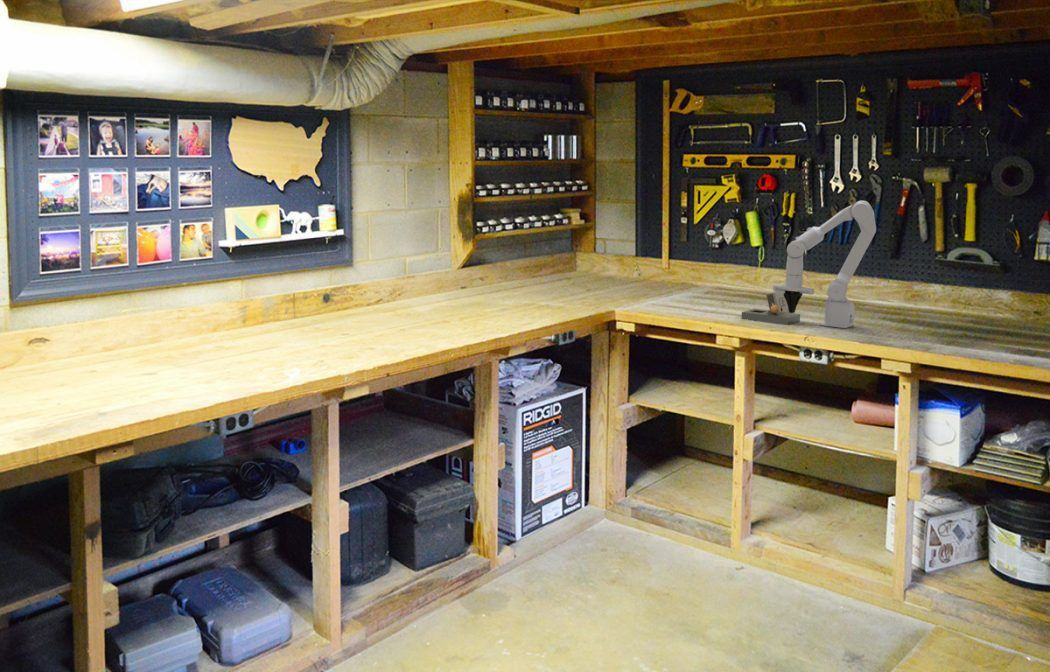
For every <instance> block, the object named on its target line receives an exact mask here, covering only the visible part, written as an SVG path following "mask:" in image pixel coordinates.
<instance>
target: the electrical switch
mask: <svg viewBox="0 0 1050 672" xmlns="http://www.w3.org/2000/svg"><path fill="white" fill-rule="evenodd" d="M784 293H785V292H784V291H773V290H772V292H771V293H768V294H766V299H767V303H768V307H769V311H771V310H770V309H771V306H773V305H778V306H779V308H780V310H779V312H786V313H789V310H788V305H787V302H786V299H785V297H784Z"/></svg>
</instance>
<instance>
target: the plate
mask: <svg viewBox="0 0 1050 672" xmlns="http://www.w3.org/2000/svg"><path fill="white" fill-rule="evenodd" d="M740 319H742V320H747V319H748V321H756V322H764V323H770V322H771V323H772V324H778V325H787V326H788V325H791V324H795V323H798V322H800V321H801V314H800V313H796V312H795V313H786V312H778V313H776V314H774V313H772V312H771V311H770V309H769V310H768V309H759V308H751V309H749V310H745V311H741V318H740ZM771 323H770V324H771Z"/></svg>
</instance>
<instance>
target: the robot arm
mask: <svg viewBox="0 0 1050 672" xmlns="http://www.w3.org/2000/svg"><path fill="white" fill-rule="evenodd" d="M875 217H876V216H875V212H874V209H873V207H872V206H871V204H870V203H869V202H868V201H866V200H858V201H856V202H855V203H854V204H851V205H849V206H847V207H845V208H842V210H840V211H838V212H837V213H836V214H834V216H832V217H830V219H828V220H827V221H825V222H824V223H822V224H821V225H820V226H812V227H808V228H806V231H805V232H804V233H802V234H801V235H799V236H796V237H795V240H792V241H791V242H790V243H789V244H788V245H787V248H786V253H787V257H786V259H787V260H786V266H785V282H784V283H785V284H784V285H782V284H774V285H772V292H773V291H784V292H785V293H784V297H785V299H786V302H787V305H788V310H789V313H795V314H796V309H797V306H798V304H799V302H800V300H801V298H802V297H803V295H804V294H805V295H810V296H811V295H814V294H815V289H814V288H811V287H804V286H803V272H804V261H803V259H804V253H805V251H809V250H810V249H812V248H813V247H815V246H816V245H818V244H819V243H821V242H822V241H823V240H824V238H825V234H826V233H828V232H830V231H831V230H833V229H834V228H836V227H838V226H839V225H840V224H842V223H843V222H846V221H847V222H849V221H853V219H854V220H855V221H856V222H857V224H858V226H859V229H860V233H859V235H858V236H857V238H856V240H855V242H854V244H853V246H852V248H851V250H850V252H849V253H848V255H847V257H846V260H845V261H844V263H843V265H842V267H841V268H840V270H839V272H838V274H837V276H836V278H835V279H834V280H832V281H831V282H830V283H829V285H828V288H827V291H826V294H827V296H828V297H826V298H825V308H824V309H825V310H824V321H823V322H822V323H819V326H826V327H835V328H840V329H841V328H842V329H848V328H851V327H854V326H855V309H856V307H855V303H854V302H852V301H848V298H847V297H846V295H847V293H848V286H849V284H850V281H851V280H852V278H853V275H854V274H855V272H856V270H857V268H858V267H859V264H860V262H861V261H862V258H863V257H864V255H865V253H866V251H867V249H868V248H869V246H870V243H872V241H873V238H874V236H875V234H876V233H877V225H876V220H875V219H876V218H875Z"/></svg>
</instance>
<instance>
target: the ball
mask: <svg viewBox="0 0 1050 672" xmlns="http://www.w3.org/2000/svg"><path fill="white" fill-rule="evenodd" d="M772 305H773V304H772ZM770 310H771V312H772V313H774V314H776V313H778V312H779V310H780V308H779V306H778V305H773V306H771V309H769V311H770Z"/></svg>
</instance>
